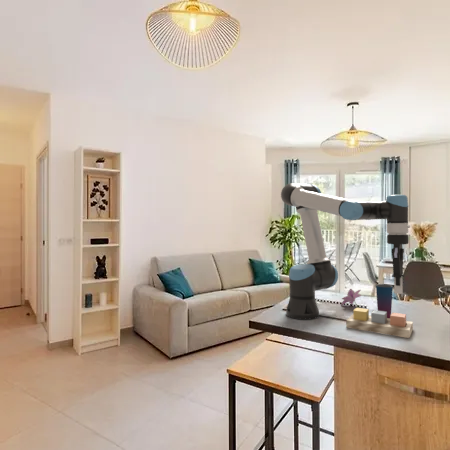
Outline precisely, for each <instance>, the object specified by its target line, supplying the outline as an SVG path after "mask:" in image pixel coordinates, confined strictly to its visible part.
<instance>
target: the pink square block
mask: <svg viewBox="0 0 450 450" xmlns="http://www.w3.org/2000/svg"><path fill="white" fill-rule="evenodd" d="M406 321H407V314H406V313H400V312H391V315H390V325H395V326H401V327H405V326H406Z"/></svg>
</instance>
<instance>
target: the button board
mask: <svg viewBox="0 0 450 450" xmlns="http://www.w3.org/2000/svg"><path fill="white" fill-rule="evenodd" d="M345 325H346V327H345V328H348V329H353V330H354V329H355V330H360V331H365V332H371V333H377V334H382V335H388V336H389V335H390V336H394V337H399V338H400V337H401V338H405V339H407V338H408V339H410V338H411V336H412V333H413V330H414V321H409V320H406V326H405V327H401V326H395V325H390V318H387V322H386V324H382V323H375V322H371V315H369V319H368V320H367V321H363V320H356V319H354V317H353V314H351V315H350V316H349V317H347V319H346V324H345Z"/></svg>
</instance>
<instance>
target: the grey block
mask: <svg viewBox="0 0 450 450" xmlns="http://www.w3.org/2000/svg"><path fill="white" fill-rule="evenodd" d="M370 316H371V322H375V323H382V324H386V322H387V312H385V311H378V309H373V310H372V312H371V315H370Z"/></svg>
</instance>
